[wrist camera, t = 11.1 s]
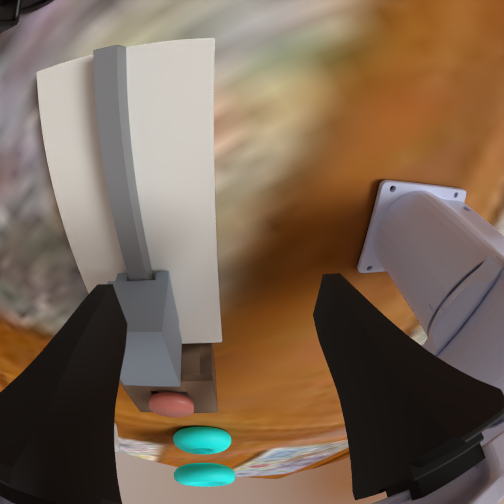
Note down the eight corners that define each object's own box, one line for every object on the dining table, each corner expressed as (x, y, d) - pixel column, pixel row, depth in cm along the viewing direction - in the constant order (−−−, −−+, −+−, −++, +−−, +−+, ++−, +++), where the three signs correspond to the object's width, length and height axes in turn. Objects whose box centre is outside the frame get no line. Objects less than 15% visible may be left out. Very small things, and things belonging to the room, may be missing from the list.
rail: (214, 41, 12) (214, 33, 9) (221, 328, 25) (223, 356, 22) (49, 70, 11) (22, 74, 8) (114, 330, 24) (108, 356, 21)
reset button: (190, 354, 25) (190, 400, 21) (195, 375, 27) (196, 417, 23) (148, 354, 24) (143, 399, 20) (157, 375, 26) (155, 416, 23)
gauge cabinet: (210, 332, 25) (212, 380, 21) (215, 371, 29) (218, 412, 25) (124, 333, 24) (115, 379, 20) (142, 372, 28) (138, 411, 24)
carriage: (170, 265, 18) (161, 331, 13) (182, 325, 21) (180, 386, 17) (113, 267, 17) (91, 330, 13) (134, 326, 21) (124, 384, 17)
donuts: (249, 481, 34) (211, 488, 38) (242, 430, 42) (207, 443, 46) (197, 478, 30) (163, 483, 33) (194, 420, 38) (162, 433, 41)
